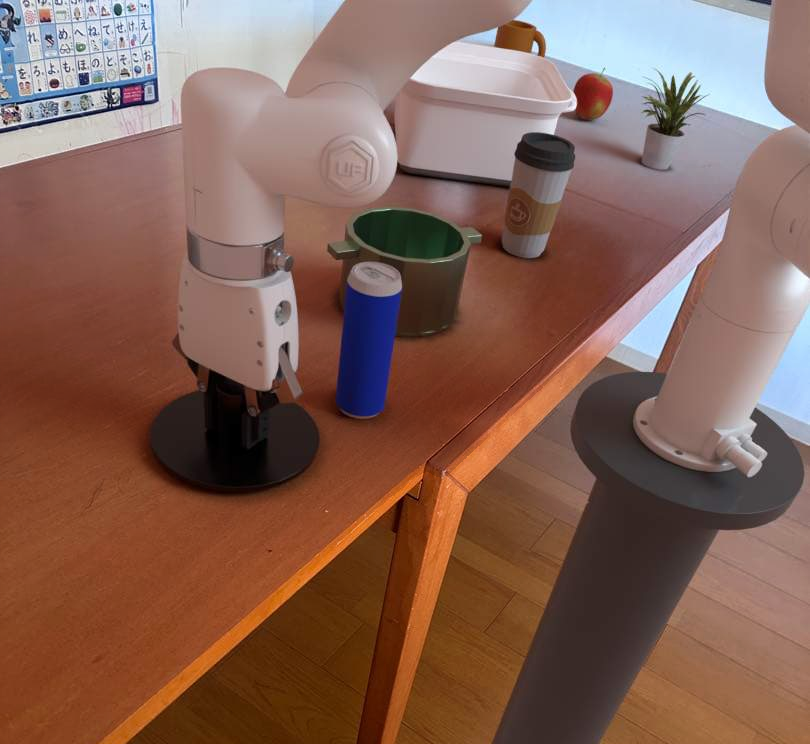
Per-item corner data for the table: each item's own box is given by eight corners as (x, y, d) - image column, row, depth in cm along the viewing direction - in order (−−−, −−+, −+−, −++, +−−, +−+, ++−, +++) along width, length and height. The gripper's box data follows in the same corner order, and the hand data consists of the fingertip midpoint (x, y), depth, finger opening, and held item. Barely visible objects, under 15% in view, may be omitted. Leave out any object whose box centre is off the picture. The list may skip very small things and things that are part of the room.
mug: (530, 79, 188) (540, 35, 182) (484, 65, 191) (492, 21, 185) (544, 73, 194) (554, 29, 188) (499, 59, 197) (508, 16, 191)
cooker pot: (494, 323, 102) (512, 251, 96) (354, 349, 94) (363, 271, 87) (434, 270, 111) (446, 200, 104) (300, 288, 102) (304, 214, 95)
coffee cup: (482, 243, 119) (505, 135, 109) (517, 231, 124) (543, 127, 114) (526, 266, 116) (554, 157, 105) (560, 254, 120) (590, 148, 110)
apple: (573, 109, 175) (587, 58, 168) (609, 120, 173) (624, 68, 167) (562, 118, 170) (575, 65, 163) (598, 129, 168) (614, 75, 161)
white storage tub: (366, 177, 131) (377, 76, 121) (367, 119, 152) (376, 28, 142) (570, 203, 136) (596, 108, 125) (543, 143, 156) (564, 57, 146)
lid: (346, 473, 77) (353, 416, 73) (184, 515, 70) (180, 454, 66) (278, 384, 86) (280, 327, 82) (129, 412, 79) (122, 353, 75)
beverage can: (393, 411, 86) (415, 278, 75) (357, 427, 83) (374, 291, 73) (361, 387, 88) (377, 255, 78) (324, 402, 85) (336, 267, 75)
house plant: (622, 142, 164) (650, 51, 152) (690, 160, 162) (724, 68, 150) (612, 163, 153) (641, 67, 142) (684, 182, 151) (720, 86, 140)
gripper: (348, 267, 65) (330, 448, 78) (185, 201, 70) (194, 382, 82) (293, 301, 60) (284, 488, 73) (122, 227, 65) (141, 416, 77)
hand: (236, 430), depth 77 cm, fingers closed on lid, 3 cm apart
